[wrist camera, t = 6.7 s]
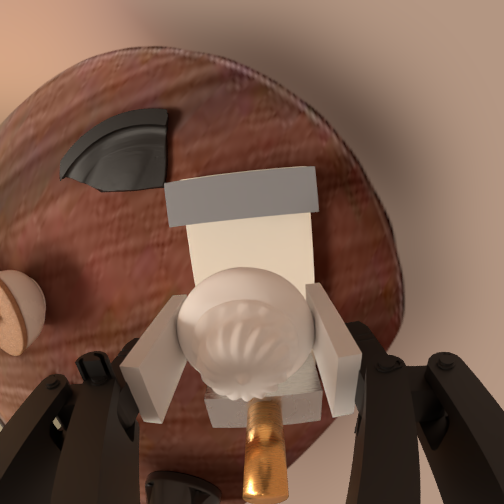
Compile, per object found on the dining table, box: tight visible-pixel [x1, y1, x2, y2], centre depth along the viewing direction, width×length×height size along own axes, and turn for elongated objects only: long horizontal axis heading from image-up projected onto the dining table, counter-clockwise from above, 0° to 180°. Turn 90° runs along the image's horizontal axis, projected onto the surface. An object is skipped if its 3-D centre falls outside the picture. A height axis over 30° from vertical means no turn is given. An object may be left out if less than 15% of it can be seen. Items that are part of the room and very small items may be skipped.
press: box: [164, 166, 319, 363], centre depth 24 cm, size 24×11×8 cm, turn 6°
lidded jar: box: [0, 270, 46, 356], centre depth 24 cm, size 11×11×9 cm
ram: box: [204, 353, 322, 504], centre depth 19 cm, size 4×10×15 cm, turn 96°
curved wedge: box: [60, 109, 168, 192], centre depth 24 cm, size 8×14×2 cm, turn 88°
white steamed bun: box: [177, 267, 315, 402], centre depth 12 cm, size 6×6×7 cm
